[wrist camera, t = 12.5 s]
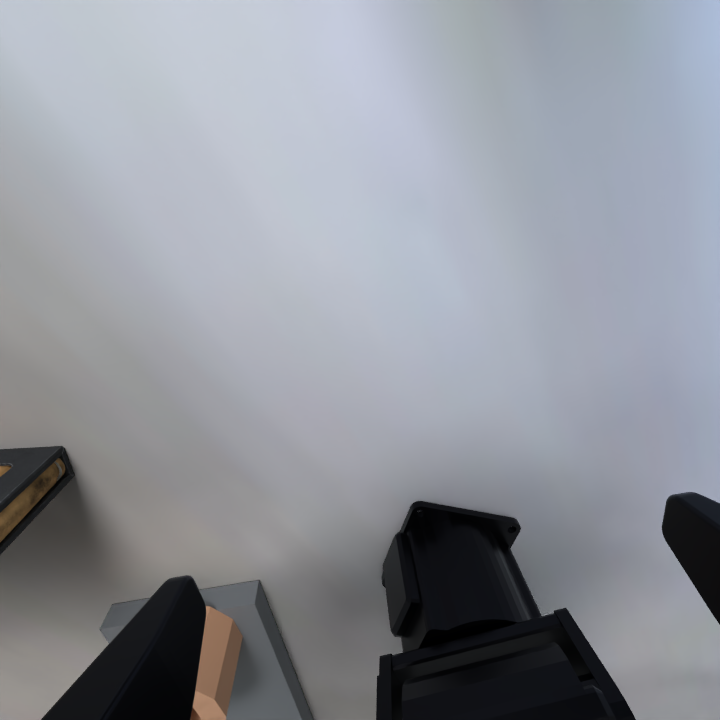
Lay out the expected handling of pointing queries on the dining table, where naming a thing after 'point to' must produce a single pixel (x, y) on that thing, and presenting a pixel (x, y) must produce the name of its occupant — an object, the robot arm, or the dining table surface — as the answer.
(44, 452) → the ammunition clip
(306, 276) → the dining table surface
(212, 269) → the dining table surface
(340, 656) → the dining table surface
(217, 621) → the ring
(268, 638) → the board
